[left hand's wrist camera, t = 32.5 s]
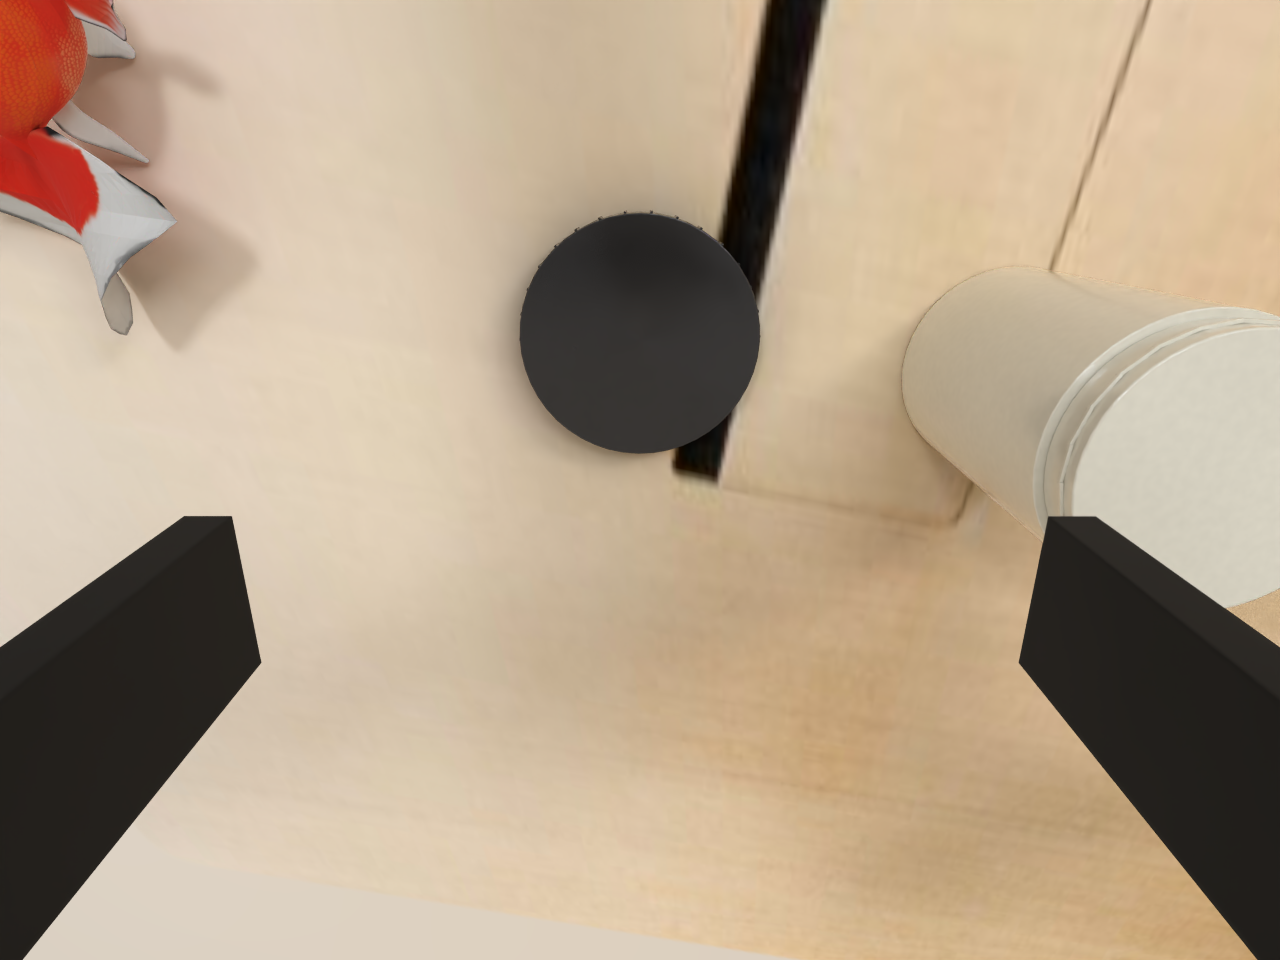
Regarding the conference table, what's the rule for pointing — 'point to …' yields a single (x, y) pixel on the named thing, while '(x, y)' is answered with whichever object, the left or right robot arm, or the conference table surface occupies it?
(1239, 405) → the jar
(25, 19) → the fish
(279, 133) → the conference table surface
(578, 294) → the lid
